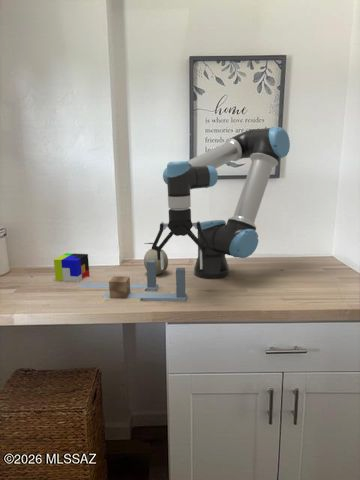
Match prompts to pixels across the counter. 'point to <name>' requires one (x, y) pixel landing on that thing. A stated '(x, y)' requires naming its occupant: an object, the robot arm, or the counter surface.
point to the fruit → (153, 256)
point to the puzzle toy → (71, 267)
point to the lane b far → (94, 285)
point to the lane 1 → (149, 277)
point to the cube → (119, 287)
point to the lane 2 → (177, 296)
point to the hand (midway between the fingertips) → (181, 268)
